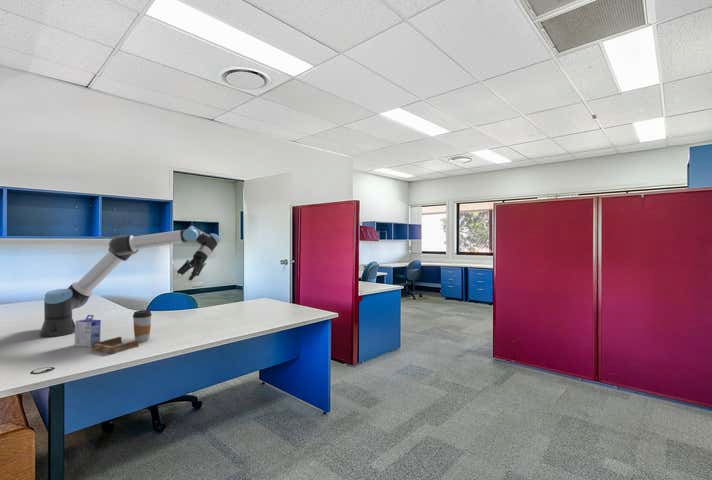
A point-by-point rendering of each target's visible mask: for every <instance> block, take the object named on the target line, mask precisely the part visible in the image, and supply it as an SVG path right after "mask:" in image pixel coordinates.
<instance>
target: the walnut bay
mask: <svg viewBox="0 0 712 480" xmlns="http://www.w3.org/2000/svg"><path fill="white" fill-rule="evenodd" d="M122 341H123V338H122V336H117V337H113V338H108V339H106V340H102V341H101V340H100V342H97V343H93V344H92V347H91V351H95V352H99V353H103V354H108V355H114V354H117V353H121V352H124V351H127V350H131V349H134V348H137V347H139V345H140V344H139V343H140V342H139V340H135V339H134V340H131V341H128V342H124V343H122Z"/></svg>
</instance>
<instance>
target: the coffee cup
mask: <svg viewBox="0 0 712 480" xmlns="http://www.w3.org/2000/svg"><path fill="white" fill-rule="evenodd" d="M132 318H133V319H132V320H133V334H134V340H139V343H146V342H149V340H150V335H151V328H152V327H151V326H152V325H151V324H152V323H151V322H152V312H151V310H149V309H145V310H143V309H142V310H136V311H134V312H133V314H132Z"/></svg>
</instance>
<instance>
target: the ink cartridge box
mask: <svg viewBox="0 0 712 480" xmlns="http://www.w3.org/2000/svg"><path fill="white" fill-rule="evenodd" d="M94 317H95V315H94V314H87V316H86V318H84V319H78V320H75V321H74V323H75V332H74V346H75V347H87V348H92V344H93V343H97V342H101V326H102V325H101V324H102V323H101V321H102V320H101V319H93V318H94Z"/></svg>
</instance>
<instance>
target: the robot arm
mask: <svg viewBox="0 0 712 480" xmlns="http://www.w3.org/2000/svg"><path fill="white" fill-rule="evenodd" d="M220 241H221V238H220V236H218V234H216V233H209V234H208V233H205V232H204V231H202V230H200V229H198V228H197V227H195V226H193V225H190V226H189V227H188V228H186V229H180V230H178V229H177V230H173V231H171V230H170V231H167V232H166V231H165V232H158V233H152V234H151V233H150V234H143V235H137V236H134V235H132V234H131V235H130V234H127V235H126V234H125V235H117V236H114V237H112V238H111V239H110V241H109V243H108V248H107V249H108V250H107V251H108V252H107V253H106V254H105V255H104V256H103V257H102V258H101V259H100V260H99V261H98V262H96V264H95V265H93V267H92V268H91V269H90V270H89V271H88V272H87V273H86V274H84V275H83V276H82V278H80V279H79V280H78V281H77V282H76V281H75V282H72V283H71V285H69V286H68V287H67V288H60V289H54V290H53V289H52V290H49V291H47V292H46V293H45V294H44V299H43V301H44V303H43V304H44V313H43V314H44V320H43V324H42V326H41V329H40V330H39V332H40V333H39V336H40V337H42V338H49V337H50V338H51V337H52V338H53V337H61V336H67V335H70V334H75V321H74V319H73V310H75V309H79V308H81V307H83V306H84V305H86V304H87V303H88V301H89V299H90V297H91V296H92V295H93V290H94V289H96V287H97V286H98V285H99V284H100V283H101V282H103V280H105V278H107V277H108V275H109V274H110V273H111V272H113V271H114V270H115V268H117V267H118V266H119V264H121V263H122V262H126V261H127V260H129V258H131V257H132V256H133V255H135V254H137V253H138V252H139V251H140V250H143V249H150V248H151V249H152V248H158V247H163V246H169V245H175V244H176V245H177V244H182V243H184V244H185V243H191V242H195V243H197V244H199V245H200V246H199V247H198V248H197V249H196V251H195V252H194V254H193V255H192V259H191V260H189V259H186V261H185V262H184V263H183V264H182V266H181V267H180V268H179V269H178V270H177V271H176V273H177V275H176V276H175V278H174V279H173V281H172V283H173V284H174V285H175V286H177V284H178V283H179V282H180V281H181V279H182V278H183V275H185V274H186V273H187V272H188V271H189V270H191V269H192V271H191V272H190V274H188V276H187V277H186V279H185V280H184V281H183V284H184V285H185V286H186V287H188V285H190V282H191V281H192V280H193V279H194V278H195V277H199V276H200V274H201V272H202V271H203V269H204V267H205V266H206V264H207V263H206V261H207V259H208V258H209V257H210V255H211V254H212V253H213V251H214V250H215V248H217V246H218V245H219V243H220Z"/></svg>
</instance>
